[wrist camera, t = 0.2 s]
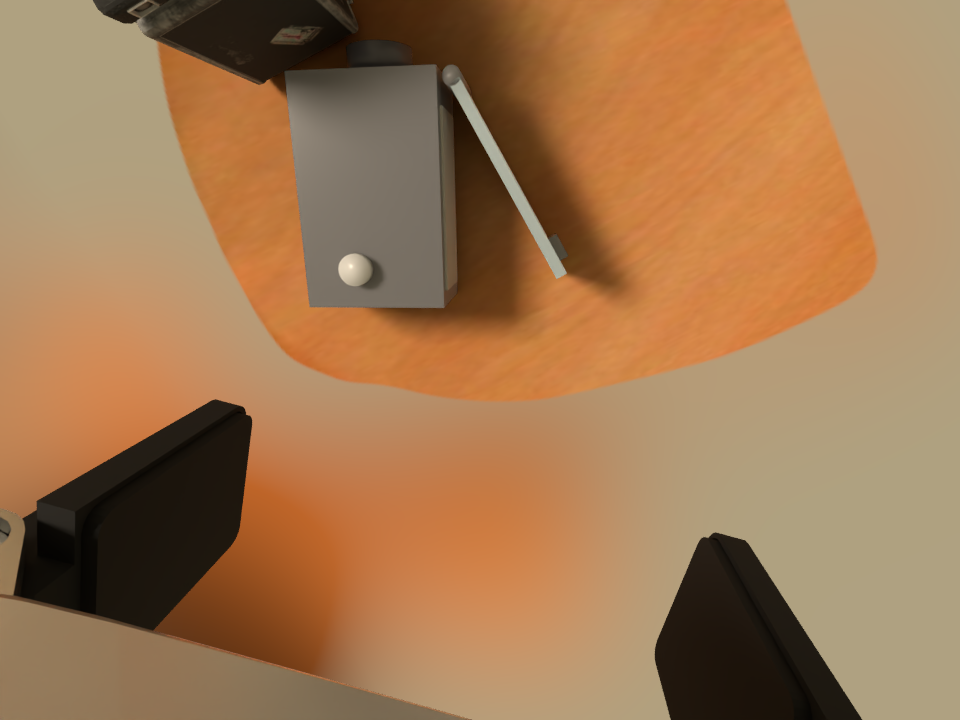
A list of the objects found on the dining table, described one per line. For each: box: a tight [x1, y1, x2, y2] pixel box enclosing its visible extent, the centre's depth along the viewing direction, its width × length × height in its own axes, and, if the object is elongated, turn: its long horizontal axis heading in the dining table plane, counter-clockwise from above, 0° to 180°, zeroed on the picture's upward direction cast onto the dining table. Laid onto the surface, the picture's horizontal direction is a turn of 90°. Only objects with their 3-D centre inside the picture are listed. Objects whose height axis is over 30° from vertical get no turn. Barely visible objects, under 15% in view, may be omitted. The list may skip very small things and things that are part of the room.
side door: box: [442, 65, 568, 279], centre depth 34 cm, size 14×2×5 cm, turn 31°
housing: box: [284, 40, 458, 308], centre depth 34 cm, size 16×9×7 cm, turn 1°
